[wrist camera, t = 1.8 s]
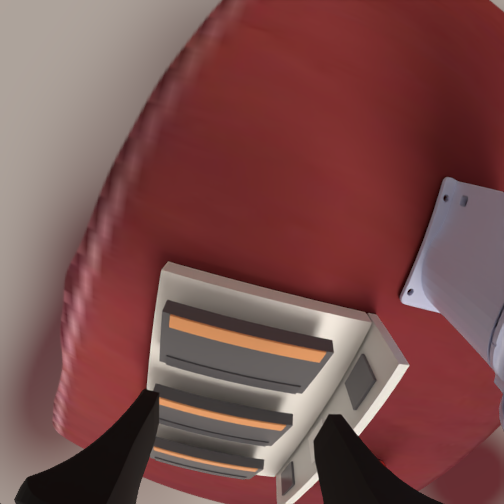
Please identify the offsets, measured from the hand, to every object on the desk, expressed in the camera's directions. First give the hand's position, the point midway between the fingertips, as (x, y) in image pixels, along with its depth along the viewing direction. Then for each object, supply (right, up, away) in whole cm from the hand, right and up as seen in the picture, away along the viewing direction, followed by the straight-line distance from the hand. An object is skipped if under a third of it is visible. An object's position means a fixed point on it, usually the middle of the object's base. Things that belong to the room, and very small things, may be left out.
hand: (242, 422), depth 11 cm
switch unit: (-1, -5, +12) cm, 13 cm away
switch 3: (-4, -12, +11) cm, 17 cm away
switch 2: (-2, -6, +9) cm, 11 cm away
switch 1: (0, +1, +7) cm, 7 cm away
